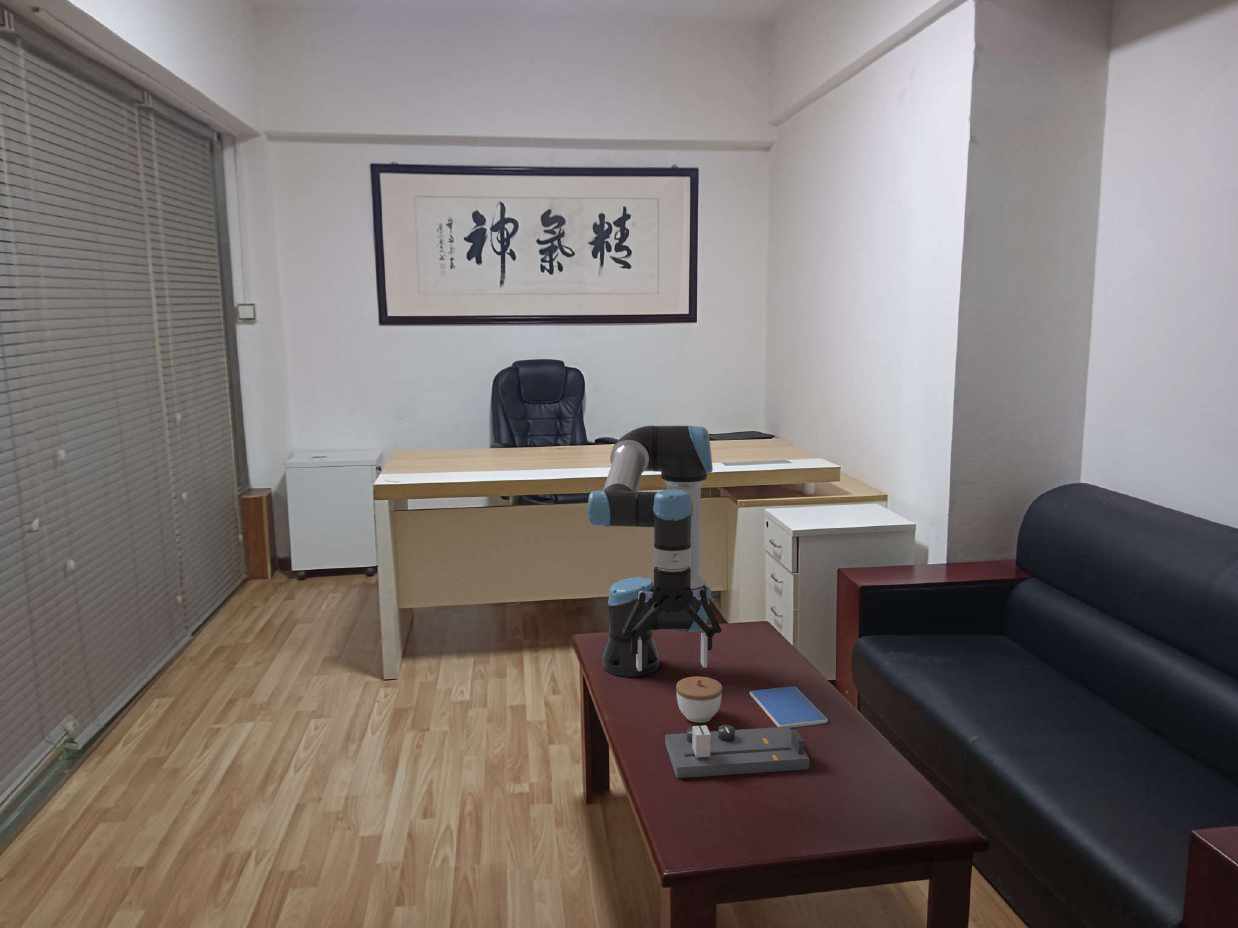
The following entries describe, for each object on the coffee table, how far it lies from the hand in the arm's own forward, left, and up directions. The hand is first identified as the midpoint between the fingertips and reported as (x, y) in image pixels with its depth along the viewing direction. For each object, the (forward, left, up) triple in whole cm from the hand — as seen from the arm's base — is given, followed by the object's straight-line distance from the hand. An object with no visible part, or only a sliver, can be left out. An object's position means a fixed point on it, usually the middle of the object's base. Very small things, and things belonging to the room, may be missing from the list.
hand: (671, 666), depth 184 cm
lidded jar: (-21, +10, -22) cm, 32 cm away
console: (-2, +14, -22) cm, 26 cm away
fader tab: (+1, +6, -19) cm, 20 cm away
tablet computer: (-23, +32, -23) cm, 46 cm away
